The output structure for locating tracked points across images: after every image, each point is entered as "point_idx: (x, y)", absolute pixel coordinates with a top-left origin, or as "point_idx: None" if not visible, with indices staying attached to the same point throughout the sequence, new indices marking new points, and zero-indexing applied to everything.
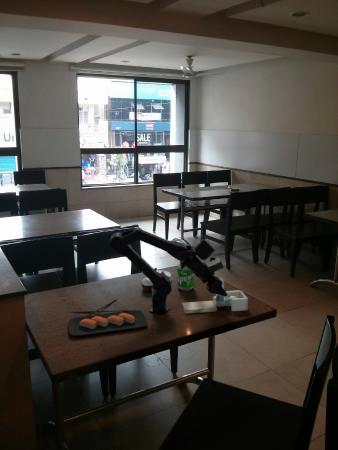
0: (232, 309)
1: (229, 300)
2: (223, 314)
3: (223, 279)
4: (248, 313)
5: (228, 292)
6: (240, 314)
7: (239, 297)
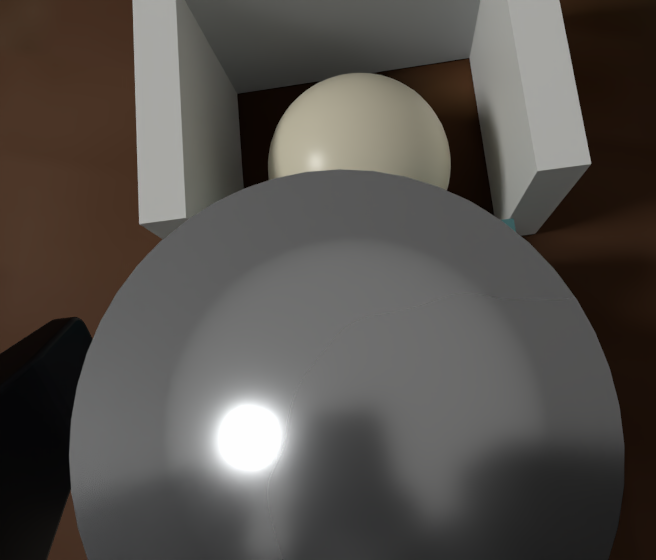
0: (541, 222)
1: (510, 227)
2: (651, 384)
3: (409, 224)
4: (606, 25)
5: (189, 190)
6: (642, 134)
7: (225, 49)
